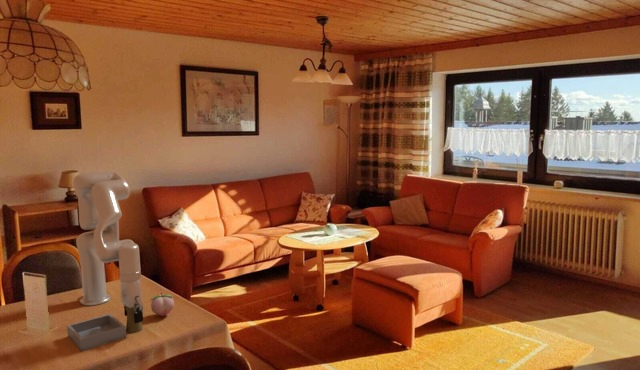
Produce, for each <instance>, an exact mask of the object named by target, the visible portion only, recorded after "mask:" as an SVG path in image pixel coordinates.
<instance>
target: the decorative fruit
mask: <svg viewBox="0 0 640 370" xmlns="http://www.w3.org/2000/svg"><path fill="white" fill-rule="evenodd" d="M173 298H174V296H173V295H172V294H169V293H165V294H164V293H162V292H160V294H159V295H158V294H157V295H154V296H153V297H152V298H151V299H150V301H151V304H150V308H151V311H152V313H154V314H155V315H157V316H161V317H165V316H167V314H170V313H171V311H172V310H173V309H174V307H175V301H174V299H173Z"/></svg>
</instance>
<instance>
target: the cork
mask: <svg viewBox="0 0 640 370" xmlns="http://www.w3.org/2000/svg"><path fill="white" fill-rule="evenodd" d="M135 305H137V304H135ZM125 308H126V311H127V316H126V325H125V326H126V333H128V334H135V333H138V332H141V331H142V330H143V325H142V322H139V323H134V313H135V312H134V309H133V307H132V308H129V307H127V306H126V307H125ZM137 308H138V307H136V310H137Z"/></svg>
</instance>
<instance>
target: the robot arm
mask: <svg viewBox="0 0 640 370" xmlns="http://www.w3.org/2000/svg"><path fill="white" fill-rule="evenodd" d="M72 185H73V186H72V187H73V190H74V191H75V195H76V197H77V200H78V219H79V221H78V222H79V226H80V228H81V229H82V230H86V231H87V232H86V231H85V232H83V233H81V234H79V235H78V236H77V237H76V239H75V240H76V243H75V244H76V247H77V248H76V249H77V252H78V255H79V262H80V263H79V264H80V271H81V273H80V274H81V283H82V284H81V285H82V286H81V287H82V294H83V295H82V296H83V297H81V298H80V299H79V303H80V304H81V305H82V306H97V305H101V304H105V303H107V302H109V301H110V300H111V295H110V294H109V293H107V284H106V281H107V280H106V271H105V270H106V269H105V264H108V263H113V262H117V261H118V267H119V268H118V269H119V279H120V280H119V281H120V299H121V300H120V301H121V303H122V305H123V308H124V309H123V310H124V311H123V312H124V316H125V317H127V311H126V308H125V307H126V306H127V307H129V308H132V307H133V309H134V312H135V313H134V323H139V322H141V323H142V322H144V311H143V310H144V304H143V292H142V285H141V280H142V271H141V257H140V247H139V245H138V244H137V243H135V242H134V241H133V240H132V239H121V240H120V222H119V221H120V220H121V218H122V216H123V213H122V210H121V207H120V203H119V201H122V200H126V199H129V197H130V194H131V189H130V185H129V184H128V182H127V180H126V179H125V178H124V177H122V175H120V174H119V173H118V172H117V171H112V170H109V171H99V172H98V171H97V172H95V171H94V172H84V173H80V174H77V175H75V176H74V177H73V182H72ZM135 304H137V305H135ZM136 307H138V308H137V310H136Z"/></svg>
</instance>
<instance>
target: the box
mask: <svg viewBox="0 0 640 370" xmlns="http://www.w3.org/2000/svg"><path fill="white" fill-rule="evenodd" d="M66 330H67V338H68V339H70V341H71V342H72V343H73V344H74V345H75V346H76V347H77V349H78V350H79V351H80V352H84V351H87V350H91V349H94V348H97V347H101V346H103V345H104V346H105V345H107V344H110V343H113V342H117V341H120V340H124V339H127V332H126V325H125V324H124V323H122V322H121V321H120V320H118V318H117V317H114V315H112V314H111V313H107V314H104V315H101V316H96V317H93V318H90V319H85V320H82V321H77V322H75V323H71V324H67V325H66Z"/></svg>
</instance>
